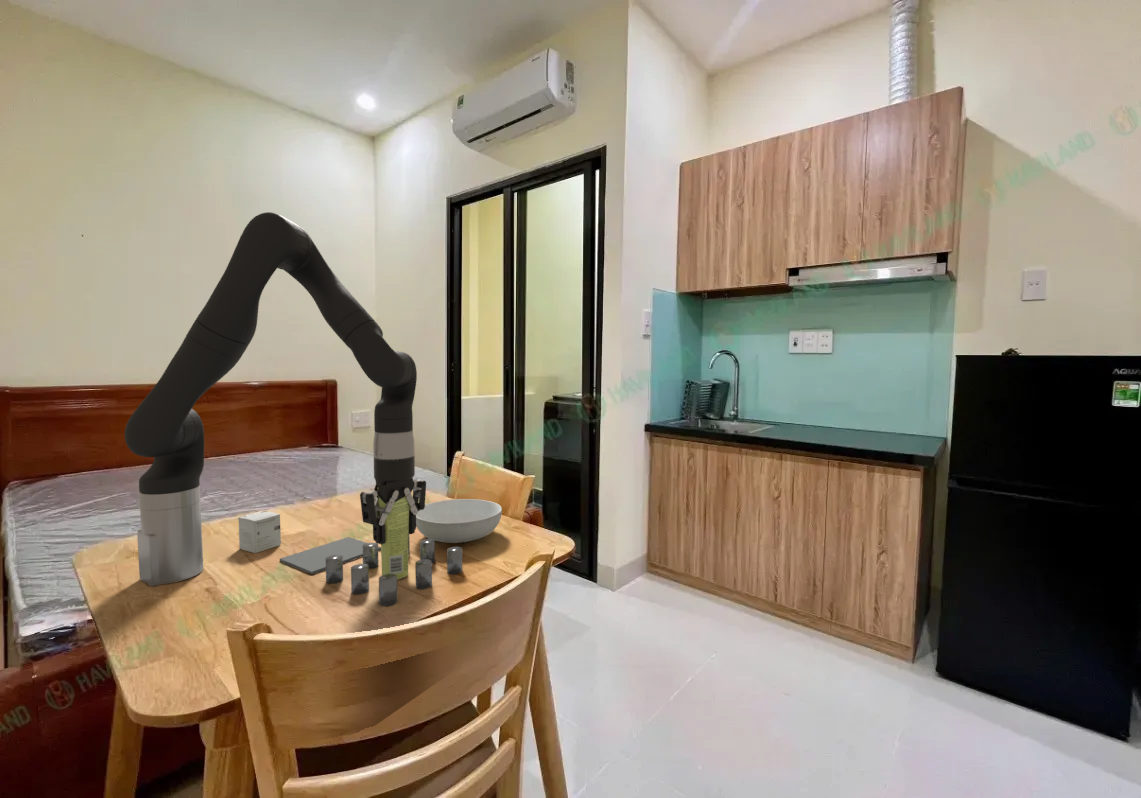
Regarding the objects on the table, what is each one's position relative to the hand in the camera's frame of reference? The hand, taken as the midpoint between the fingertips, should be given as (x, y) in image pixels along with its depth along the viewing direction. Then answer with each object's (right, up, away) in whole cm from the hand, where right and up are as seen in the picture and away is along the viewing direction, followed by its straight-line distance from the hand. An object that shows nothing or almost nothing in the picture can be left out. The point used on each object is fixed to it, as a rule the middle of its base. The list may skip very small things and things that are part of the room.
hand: (395, 537), depth 100 cm
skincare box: (-36, -6, +15) cm, 39 cm away
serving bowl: (+7, -6, +23) cm, 25 cm away
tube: (0, -8, +1) cm, 8 cm away
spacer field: (0, -8, +1) cm, 8 cm away
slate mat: (-17, -7, +11) cm, 21 cm away
